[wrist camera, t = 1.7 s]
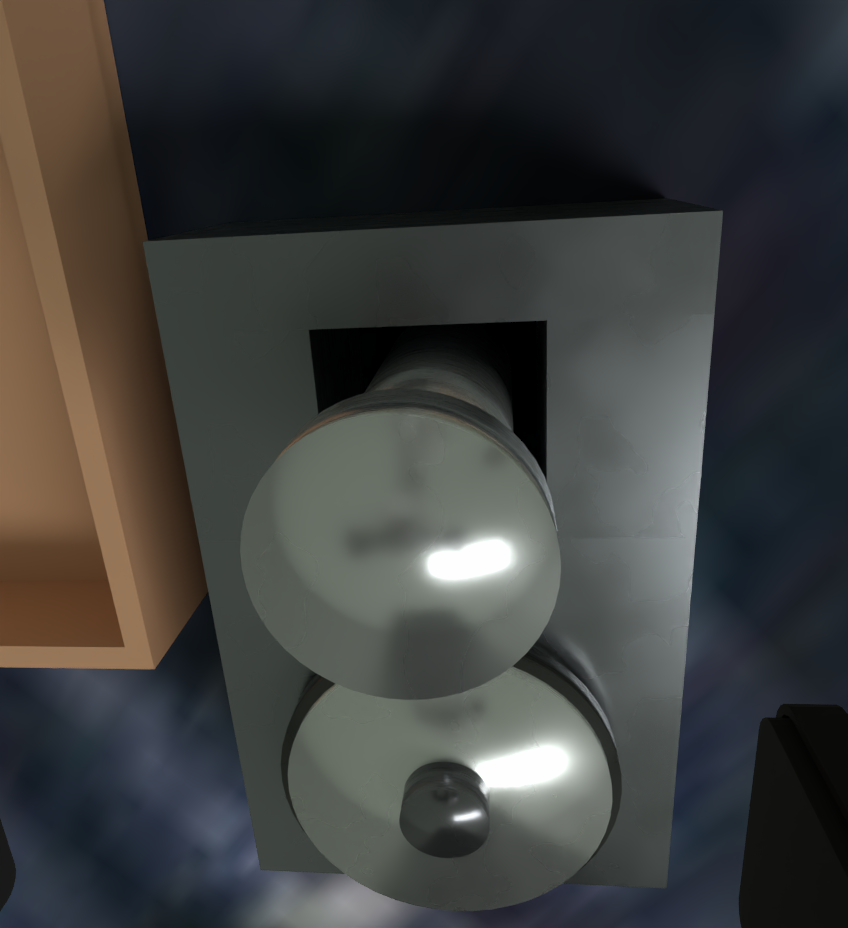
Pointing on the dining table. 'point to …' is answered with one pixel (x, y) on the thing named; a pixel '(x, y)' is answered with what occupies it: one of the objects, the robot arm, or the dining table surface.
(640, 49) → the dining table surface
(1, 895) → the robot arm
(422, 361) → the lock pin
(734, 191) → the dining table surface
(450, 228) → the pulley bracket
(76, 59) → the tray
